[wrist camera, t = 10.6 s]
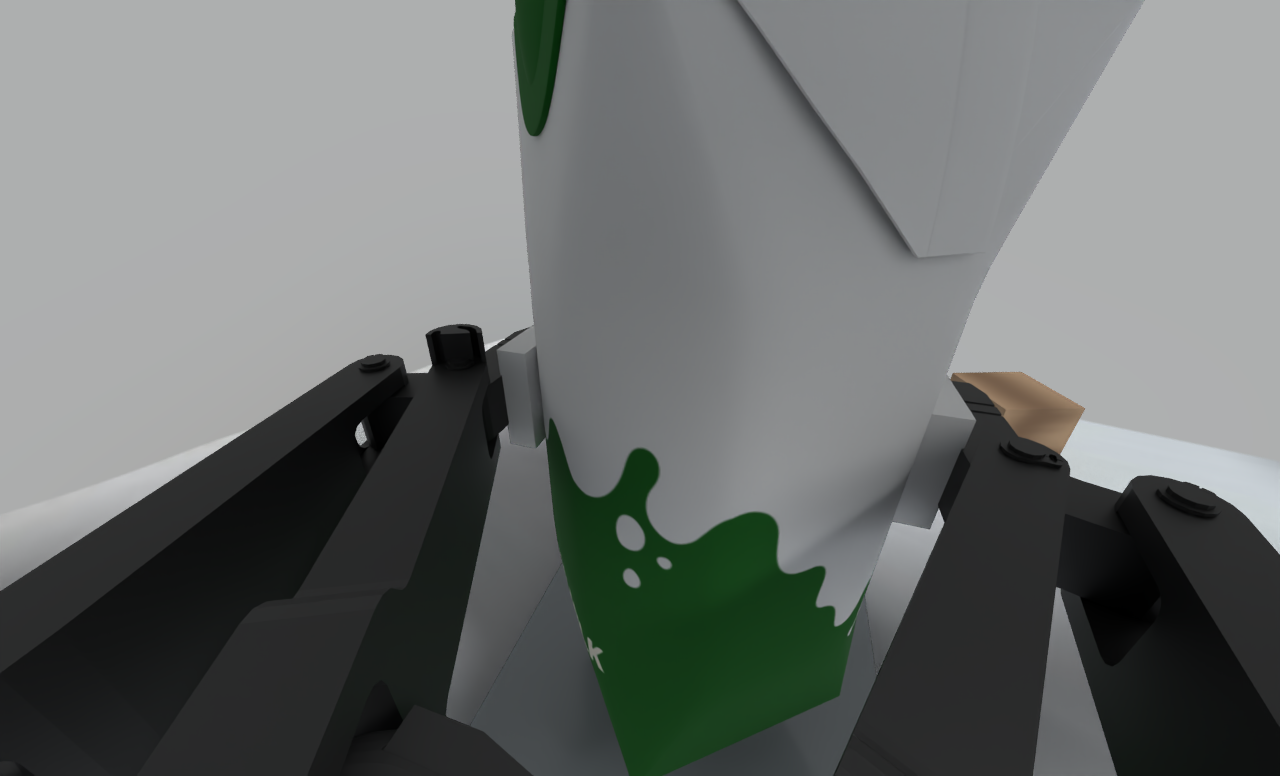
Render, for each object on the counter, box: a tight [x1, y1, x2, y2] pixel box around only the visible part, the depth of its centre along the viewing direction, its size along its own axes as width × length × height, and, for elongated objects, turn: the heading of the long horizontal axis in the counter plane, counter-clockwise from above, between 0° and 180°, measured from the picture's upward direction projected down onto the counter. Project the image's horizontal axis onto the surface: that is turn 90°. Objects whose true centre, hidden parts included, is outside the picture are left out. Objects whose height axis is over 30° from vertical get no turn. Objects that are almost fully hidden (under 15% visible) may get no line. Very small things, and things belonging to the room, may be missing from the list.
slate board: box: [470, 563, 876, 776], centre depth 18 cm, size 14×14×1 cm
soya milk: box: [512, 0, 1145, 776], centre depth 12 cm, size 9×9×20 cm
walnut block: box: [950, 372, 1085, 454], centre depth 31 cm, size 5×5×5 cm
